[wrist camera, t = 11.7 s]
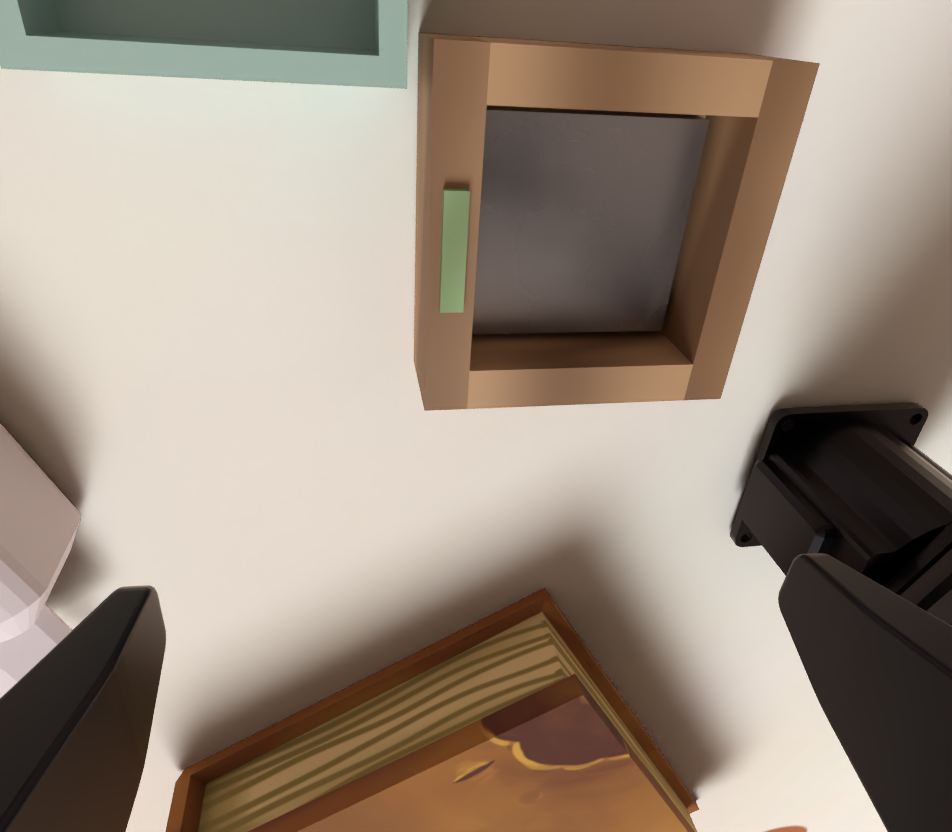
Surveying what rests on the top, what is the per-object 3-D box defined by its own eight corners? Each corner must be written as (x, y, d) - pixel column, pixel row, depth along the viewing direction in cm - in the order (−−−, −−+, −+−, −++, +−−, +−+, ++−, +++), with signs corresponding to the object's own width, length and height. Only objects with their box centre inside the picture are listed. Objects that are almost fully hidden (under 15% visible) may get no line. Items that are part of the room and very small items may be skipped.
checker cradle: (751, 54, 18) (825, 63, 15) (677, 354, 22) (723, 401, 20) (418, 33, 16) (435, 39, 13) (414, 361, 21) (425, 414, 18)
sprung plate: (695, 115, 18) (709, 119, 17) (651, 320, 21) (661, 330, 20) (478, 105, 17) (484, 109, 16) (466, 323, 20) (470, 334, 19)
